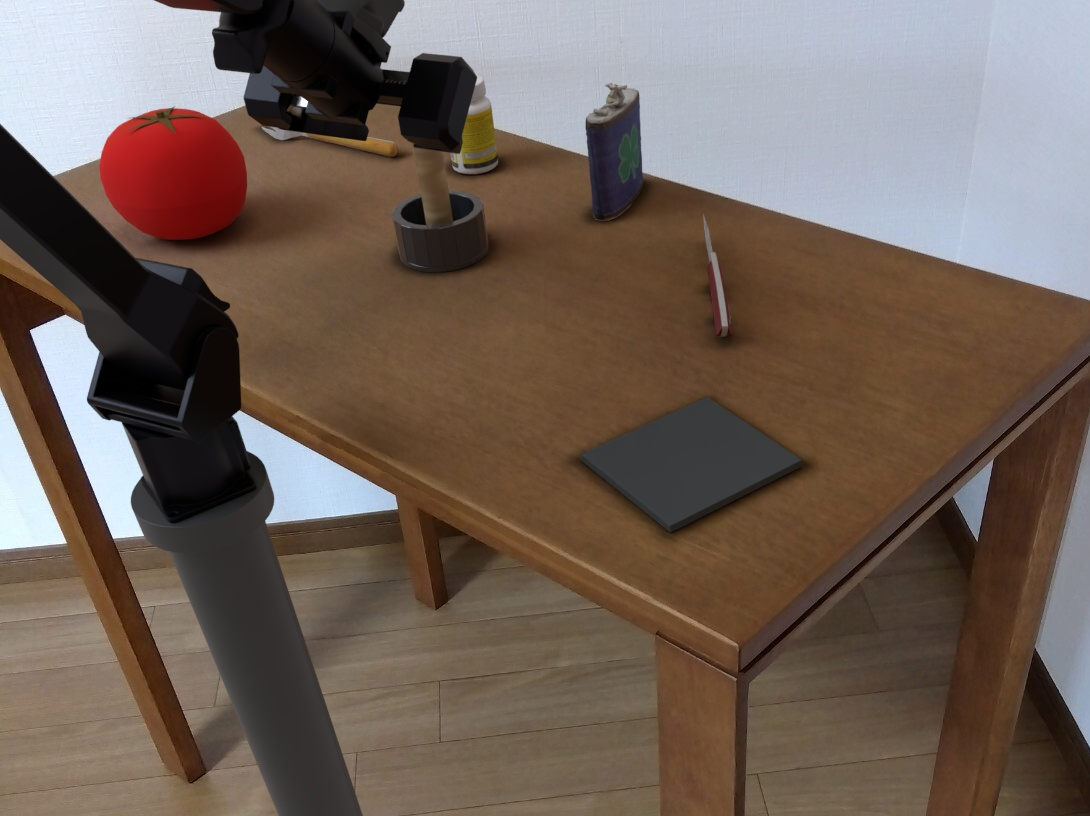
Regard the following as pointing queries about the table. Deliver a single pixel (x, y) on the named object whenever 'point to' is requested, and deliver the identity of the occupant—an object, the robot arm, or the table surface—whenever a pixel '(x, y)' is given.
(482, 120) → the supplement bottle
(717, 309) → the knife
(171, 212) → the tomato
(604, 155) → the flask
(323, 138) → the fork
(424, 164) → the muddler
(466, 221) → the cup
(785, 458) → the mat
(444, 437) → the table surface
